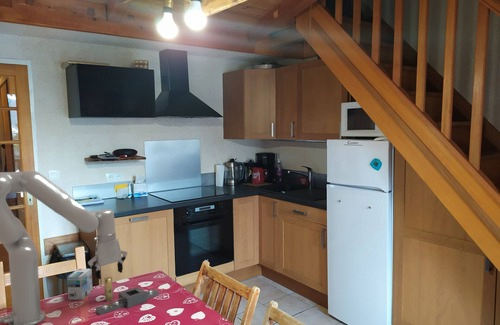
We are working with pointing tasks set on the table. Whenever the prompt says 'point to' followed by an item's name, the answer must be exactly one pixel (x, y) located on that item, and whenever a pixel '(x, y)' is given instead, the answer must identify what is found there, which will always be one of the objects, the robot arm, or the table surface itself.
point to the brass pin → (108, 289)
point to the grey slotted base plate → (128, 299)
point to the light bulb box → (79, 284)
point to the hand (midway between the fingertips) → (109, 275)
